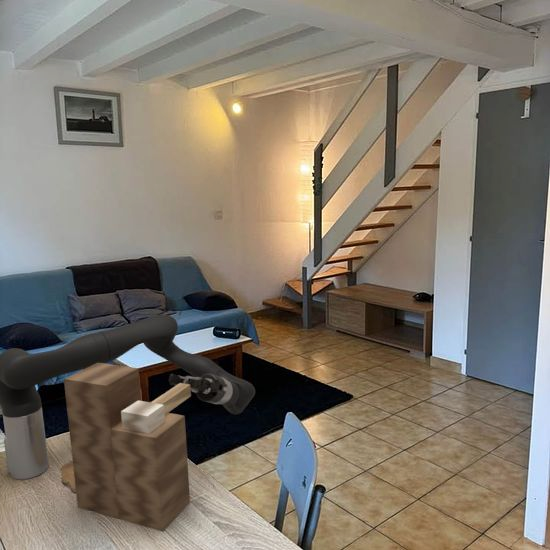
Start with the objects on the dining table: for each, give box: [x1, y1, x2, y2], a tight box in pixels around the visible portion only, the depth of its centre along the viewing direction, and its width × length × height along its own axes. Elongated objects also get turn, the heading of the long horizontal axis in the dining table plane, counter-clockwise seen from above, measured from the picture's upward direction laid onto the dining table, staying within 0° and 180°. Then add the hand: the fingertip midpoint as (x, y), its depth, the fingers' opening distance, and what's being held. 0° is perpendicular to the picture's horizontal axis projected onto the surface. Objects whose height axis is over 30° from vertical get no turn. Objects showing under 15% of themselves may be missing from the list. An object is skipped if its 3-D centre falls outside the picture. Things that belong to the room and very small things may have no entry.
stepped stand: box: [63, 363, 191, 532], centre depth 120 cm, size 24×11×32 cm, turn 67°
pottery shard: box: [60, 460, 76, 494], centre depth 135 cm, size 8×16×2 cm, turn 26°
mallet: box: [121, 383, 192, 434], centre depth 121 cm, size 7×20×4 cm, turn 157°
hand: (185, 380), depth 129 cm, fingers open, 8 cm apart
